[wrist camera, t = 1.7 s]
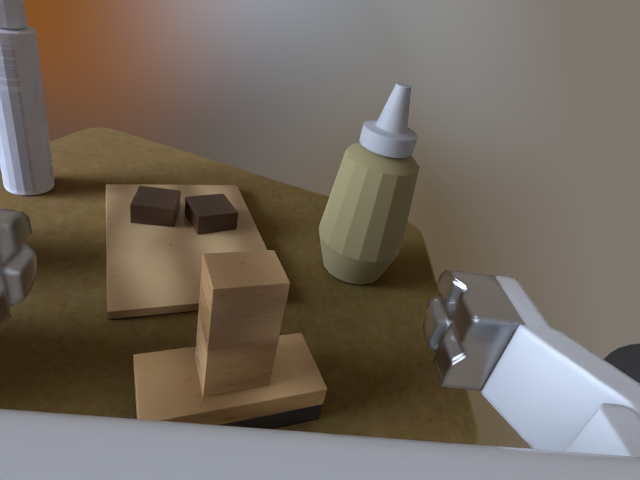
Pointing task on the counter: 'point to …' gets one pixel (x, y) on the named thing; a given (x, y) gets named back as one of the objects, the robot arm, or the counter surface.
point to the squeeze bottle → (371, 196)
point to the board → (165, 252)
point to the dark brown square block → (210, 213)
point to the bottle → (22, 106)
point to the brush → (234, 354)
